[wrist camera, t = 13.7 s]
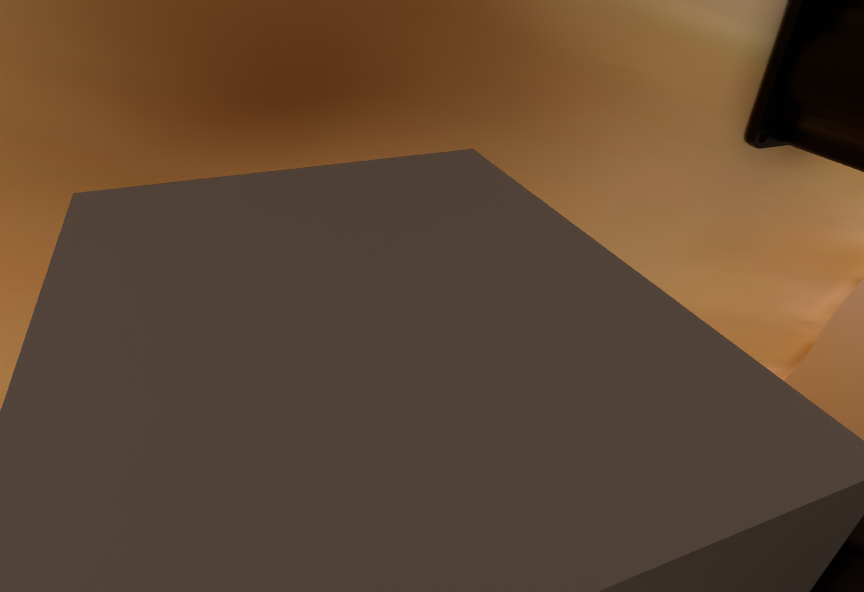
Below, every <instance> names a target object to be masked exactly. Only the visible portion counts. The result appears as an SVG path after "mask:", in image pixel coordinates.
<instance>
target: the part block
mask: <svg viewBox="0 0 864 592" xmlns="http://www.w3.org/2000/svg"><path fill="white" fill-rule="evenodd" d="M863 515H864V441H863V440H862V439H861V438H859V437H858V436H857V435H855V434H854V433H853V432H851V431H850V430H848V429H847V428H846V427H844V426H843V425H842V424H840V423H839V422H838V421H836V420H835V419H834V418H832V417H831V416H830V415H828V414H827V413H826V412H824V411H823V410H821V409H820V408H819V407H818V406H816V405H815V404H814V403H812V402H811V401H810V400H808V399H807V398H805V397H804V396H803V395H802V394H800V393H799V392H797V391H796V390H795V389H794V388H792V387H791V386H790V385H788V384H787V383H786V382H784V381H783V380H782V379H780V378H779V377H777V376H776V375H775V374H773V373H772V372H771V371H769V370H768V369H767V368H765V367H764V366H763V365H761V364H760V363H759V362H757V361H756V360H755V359H753V358H752V357H751V356H749V355H748V354H747V353H745V352H744V351H743V350H741V349H740V348H739V347H737V346H736V345H735V344H733V343H732V342H731V341H729V340H728V339H727V338H725V337H724V336H723V335H721V334H720V333H719V332H717V331H716V330H715V329H713V328H712V327H710V326H709V325H708V324H706V323H705V322H704V321H702V320H701V319H700V318H698V317H697V316H696V315H694V314H693V313H692V312H690V311H689V310H688V309H686V308H685V307H684V306H682V305H681V304H680V303H678V302H677V301H676V300H674V299H673V298H672V297H670V296H669V295H668V294H666V293H665V292H664V291H662V290H661V289H660V288H658V287H657V286H656V285H654V284H653V283H652V282H650V281H649V280H648V279H646V278H645V277H643V276H642V275H641V274H639V273H638V272H637V271H635V270H634V269H633V268H631V267H630V266H629V265H627V264H626V263H625V262H623V261H622V260H621V259H619V258H618V257H617V256H615V255H614V254H613V253H611V252H610V251H609V250H607V249H606V248H605V247H603V246H602V245H601V244H599V243H598V242H597V241H595V240H594V239H593V238H591V237H590V236H589V235H587V234H586V233H585V232H583V231H582V230H581V229H579V228H578V227H576V226H575V225H574V224H572V223H571V222H570V221H568V220H567V219H566V218H564V217H563V216H562V215H560V214H559V213H558V212H556V211H555V210H554V209H552V208H551V207H550V206H548V205H547V204H546V203H544V202H543V201H542V200H540V199H539V198H538V197H536V196H535V195H534V194H532V193H531V192H530V191H528V190H527V189H526V188H524V187H523V186H522V185H520V184H519V183H518V182H516V181H515V180H514V179H512V178H511V177H509V176H508V175H507V174H505V173H504V172H503V171H501V170H500V169H499V168H497V167H496V166H495V165H493V164H492V163H491V162H489V161H488V160H487V159H485V158H484V157H483V156H481V155H480V154H479V153H477V152H476V151H475V150H473V149H469V150H460V151H451V152H442V153H433V154H424V155H415V156H406V157H397V158H388V159H379V160H370V161H361V162H351V163H342V164H333V165H324V166H315V167H306V168H297V169H288V170H279V171H270V172H261V173H252V174H243V175H234V176H225V177H216V178H207V179H198V180H189V181H180V182H171V183H162V184H153V185H144V186H135V187H126V188H117V189H108V190H99V191H90V192H81V193H73V196H72V199H71V202H70V205H69V208H68V211H67V214H66V217H65V220H64V223H63V226H62V229H61V232H60V235H59V238H58V241H57V244H56V247H55V250H54V253H53V256H52V259H51V262H50V265H49V268H48V271H47V274H46V277H45V280H44V283H43V286H42V289H41V292H40V295H39V298H38V301H37V304H36V307H35V310H34V313H33V316H32V319H31V322H30V325H29V328H28V331H27V334H26V337H25V340H24V343H23V346H22V349H21V352H20V355H19V358H18V361H17V364H16V367H15V370H14V373H13V376H12V379H11V382H10V385H9V388H8V391H7V394H6V397H5V400H4V403H3V406H2V409H1V412H0V592H810V590H811V589H812V588H813V586H814V585H815V583H816V582H817V581H818V579H819V578H820V576H821V575H822V573H823V572H824V571H825V569H826V568H827V566H828V565H829V563H830V562H831V561H832V559H833V558H834V556H835V555H836V554H837V552H838V551H839V549H840V548H841V546H842V545H843V544H844V542H845V541H846V539H847V538H848V536H849V535H850V534H851V532H852V531H853V529H854V528H855V527H856V525H857V524H858V522H859V521H860V519H861V518H862V517H863Z"/></svg>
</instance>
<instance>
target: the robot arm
mask: <svg viewBox="0 0 864 592" xmlns="http://www.w3.org/2000/svg"><path fill="white" fill-rule="evenodd" d="M747 143H748V144H749V145H750V146H753V147H755V148H759V149H760V148H768V147H776V146H783V145H791V146H794V147H796V148H799V149H802V150H805V151H807V152H810V153H813V154H816V155H818V156H821V157H824V158H827V159H829V160H832V161H835V162H838V163H841V164H843V165H846V166H849V167H852V168H854V169H857V170H860V171H863V172H864V0H793V1H792V4H791V7H790V10H789V13H788V16H787V19H786V22H785V25H784V28H783V31H782V34H781V37H780V40H779V43H778V46H777V49H776V52H775V55H774V58H773V61H772V64H771V67H770V70H769V73H768V76H767V79H766V82H765V85H764V88H763V91H762V94H761V97H760V100H759V103H758V106H757V109H756V112H755V115H754V118H753V121H752V124H751V127H750V130H749V133H748V136H747ZM810 592H864V515H863V517H862V518H861V519H860V521H859V522H858V524H857V525H856V527H855V528H854V529H853V531H852V532H851V534H850V535H849V536H848V538H847V539H846V541H845V542H844V544H843V545H842V546H841V548H840V549H839V551H838V552H837V554H836V555H835V556H834V558H833V559H832V561H831V562H830V563H829V565H828V566H827V568H826V569H825V571H824V572H823V573H822V575H821V576H820V578H819V579H818V581H817V582H816V583H815V585H814V586H813V588H812V589H811V590H810Z"/></svg>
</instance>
